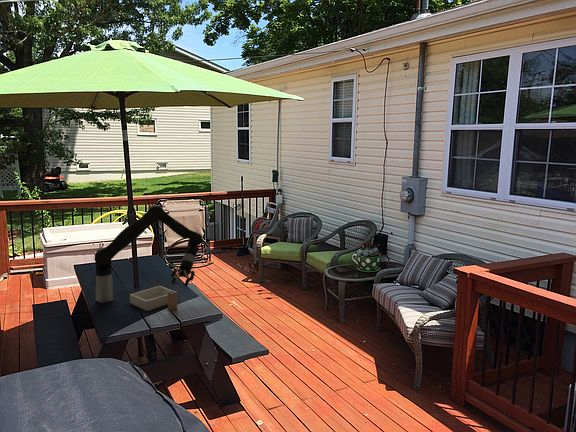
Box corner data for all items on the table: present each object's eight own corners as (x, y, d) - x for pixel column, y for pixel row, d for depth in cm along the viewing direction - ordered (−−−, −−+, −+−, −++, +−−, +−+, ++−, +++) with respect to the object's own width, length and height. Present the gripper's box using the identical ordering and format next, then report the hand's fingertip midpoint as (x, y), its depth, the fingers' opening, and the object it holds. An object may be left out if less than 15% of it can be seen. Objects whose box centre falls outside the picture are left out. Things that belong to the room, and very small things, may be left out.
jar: (171, 311, 273) (170, 295, 271) (165, 309, 276) (165, 293, 274) (179, 309, 277) (178, 293, 275) (173, 306, 280) (173, 291, 278)
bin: (146, 311, 273) (146, 301, 272) (130, 303, 284) (129, 294, 283) (177, 301, 290) (176, 292, 288) (160, 294, 301) (160, 285, 300)
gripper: (175, 258, 290) (166, 281, 281) (195, 260, 286) (187, 283, 278) (179, 264, 296) (171, 286, 287) (199, 266, 292) (191, 289, 284)
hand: (179, 285), depth 282 cm, fingers open, 8 cm apart
